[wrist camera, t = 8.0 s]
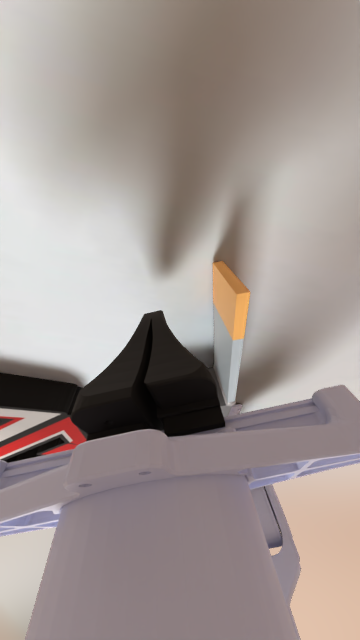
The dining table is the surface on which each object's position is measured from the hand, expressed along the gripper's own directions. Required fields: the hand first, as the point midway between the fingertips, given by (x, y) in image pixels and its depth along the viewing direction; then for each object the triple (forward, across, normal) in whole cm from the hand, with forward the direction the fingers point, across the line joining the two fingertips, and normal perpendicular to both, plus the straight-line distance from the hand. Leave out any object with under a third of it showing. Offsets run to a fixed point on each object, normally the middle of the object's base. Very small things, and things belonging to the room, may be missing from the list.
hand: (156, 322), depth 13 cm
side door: (+3, -5, +5) cm, 8 cm away
